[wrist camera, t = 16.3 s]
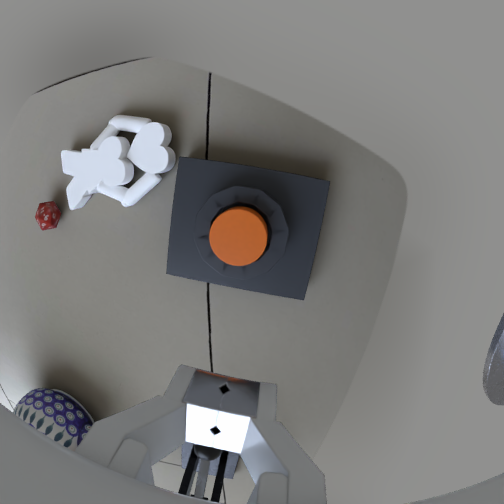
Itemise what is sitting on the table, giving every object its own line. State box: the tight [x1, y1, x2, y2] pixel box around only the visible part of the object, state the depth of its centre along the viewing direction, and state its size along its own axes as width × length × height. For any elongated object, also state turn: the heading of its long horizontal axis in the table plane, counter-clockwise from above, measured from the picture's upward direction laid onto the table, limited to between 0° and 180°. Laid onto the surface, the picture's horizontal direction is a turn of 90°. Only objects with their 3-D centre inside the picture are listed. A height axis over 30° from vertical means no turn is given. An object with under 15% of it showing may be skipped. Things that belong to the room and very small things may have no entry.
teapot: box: [13, 388, 94, 451], centre depth 28 cm, size 25×15×15 cm, turn 95°
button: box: [209, 206, 268, 266], centre depth 21 cm, size 4×4×2 cm
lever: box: [191, 444, 222, 500], centre depth 26 cm, size 13×3×3 cm, turn 170°
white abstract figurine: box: [61, 115, 175, 210], centre depth 23 cm, size 9×12×2 cm
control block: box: [166, 157, 330, 300], centre depth 23 cm, size 12×10×4 cm
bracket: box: [178, 441, 240, 503], centre depth 28 cm, size 10×8×12 cm
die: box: [35, 201, 61, 230], centre depth 25 cm, size 3×3×3 cm
